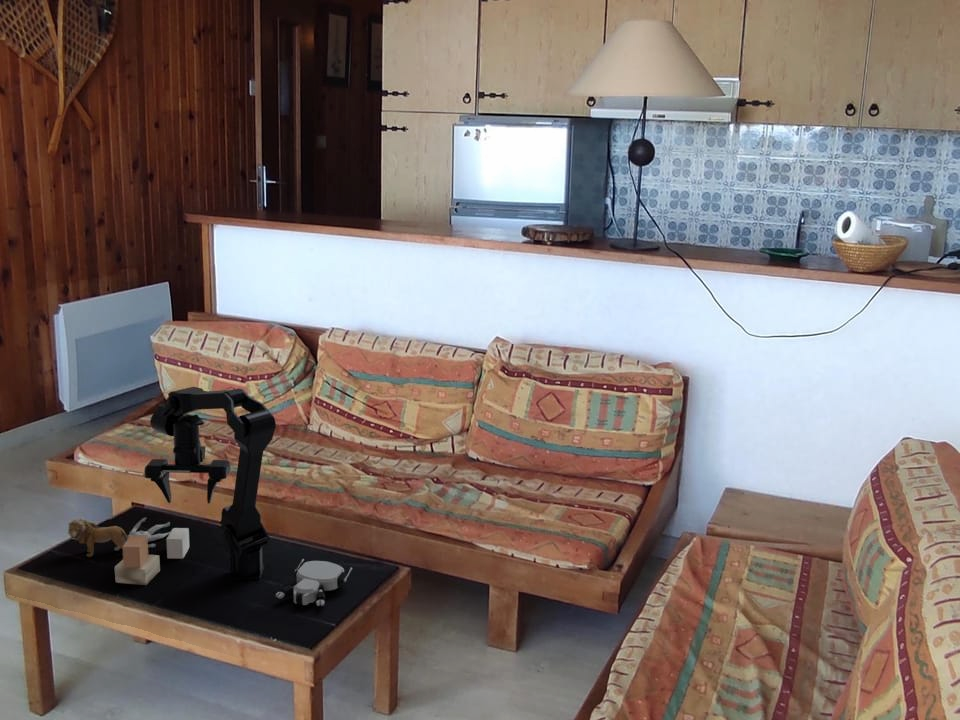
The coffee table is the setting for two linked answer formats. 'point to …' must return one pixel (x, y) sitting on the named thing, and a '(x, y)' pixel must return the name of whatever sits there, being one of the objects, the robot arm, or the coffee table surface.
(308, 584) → the robot toy
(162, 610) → the coffee table surface
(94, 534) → the lion figurine
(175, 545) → the off-white brick
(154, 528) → the soldier figure
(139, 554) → the terracotta brick
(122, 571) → the birch block
